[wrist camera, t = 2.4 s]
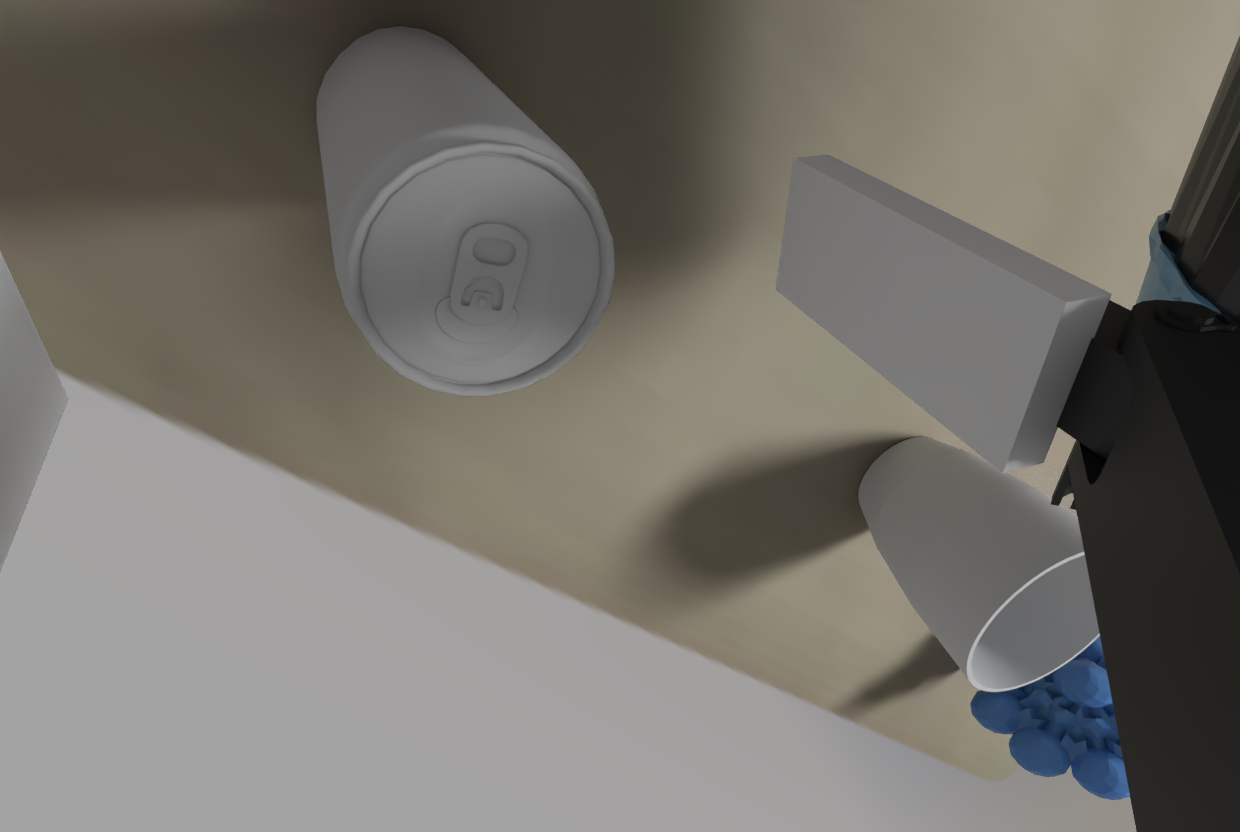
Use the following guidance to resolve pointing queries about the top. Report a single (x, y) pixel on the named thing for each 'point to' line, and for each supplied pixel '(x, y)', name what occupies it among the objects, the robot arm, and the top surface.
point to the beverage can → (455, 219)
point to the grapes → (1062, 724)
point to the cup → (981, 561)
